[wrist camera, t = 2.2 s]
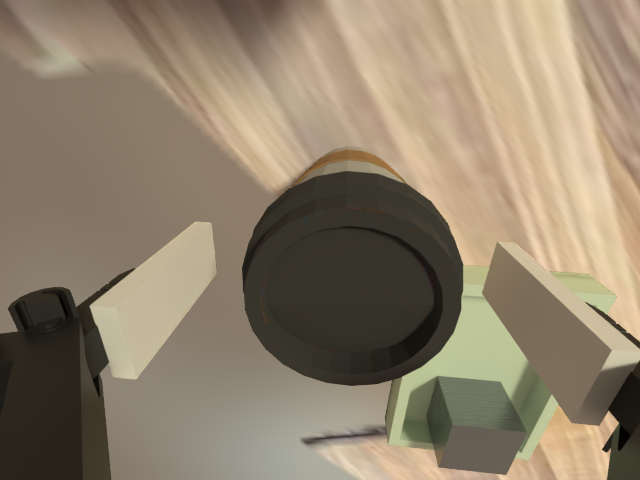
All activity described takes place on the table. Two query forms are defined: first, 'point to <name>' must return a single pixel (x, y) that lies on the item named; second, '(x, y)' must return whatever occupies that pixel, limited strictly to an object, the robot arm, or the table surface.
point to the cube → (474, 425)
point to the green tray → (483, 365)
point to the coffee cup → (352, 274)
